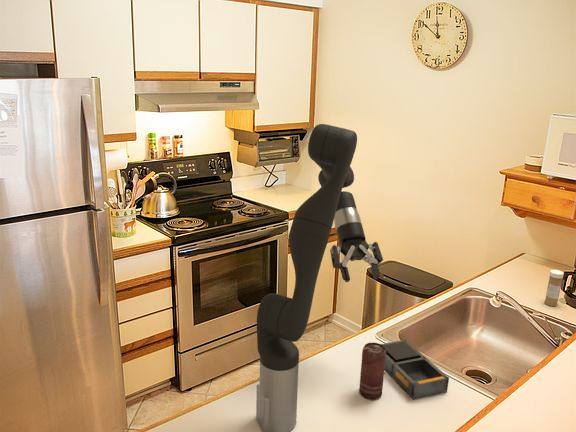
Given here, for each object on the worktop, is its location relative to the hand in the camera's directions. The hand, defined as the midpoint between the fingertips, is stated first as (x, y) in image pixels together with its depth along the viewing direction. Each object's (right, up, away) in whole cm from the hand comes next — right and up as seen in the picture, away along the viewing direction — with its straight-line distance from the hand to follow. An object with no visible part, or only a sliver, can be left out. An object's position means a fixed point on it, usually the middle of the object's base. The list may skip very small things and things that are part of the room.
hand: (362, 279), depth 139 cm
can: (+2, -31, -2) cm, 31 cm away
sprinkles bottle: (+80, -17, +56) cm, 99 cm away
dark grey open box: (+14, -28, +7) cm, 32 cm away
